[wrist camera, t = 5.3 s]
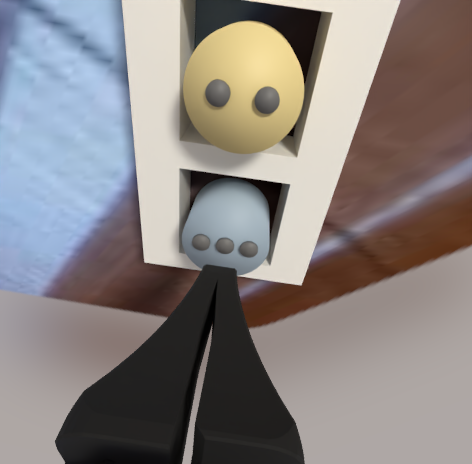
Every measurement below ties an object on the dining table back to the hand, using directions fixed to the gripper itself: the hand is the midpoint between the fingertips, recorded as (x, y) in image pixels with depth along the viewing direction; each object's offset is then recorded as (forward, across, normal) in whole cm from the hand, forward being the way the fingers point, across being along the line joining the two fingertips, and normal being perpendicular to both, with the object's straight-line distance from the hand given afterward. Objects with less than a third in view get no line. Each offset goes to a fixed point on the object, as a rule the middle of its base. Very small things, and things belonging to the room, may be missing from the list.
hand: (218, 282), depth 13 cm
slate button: (+6, 0, 0) cm, 6 cm away
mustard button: (+6, 0, -7) cm, 9 cm away
